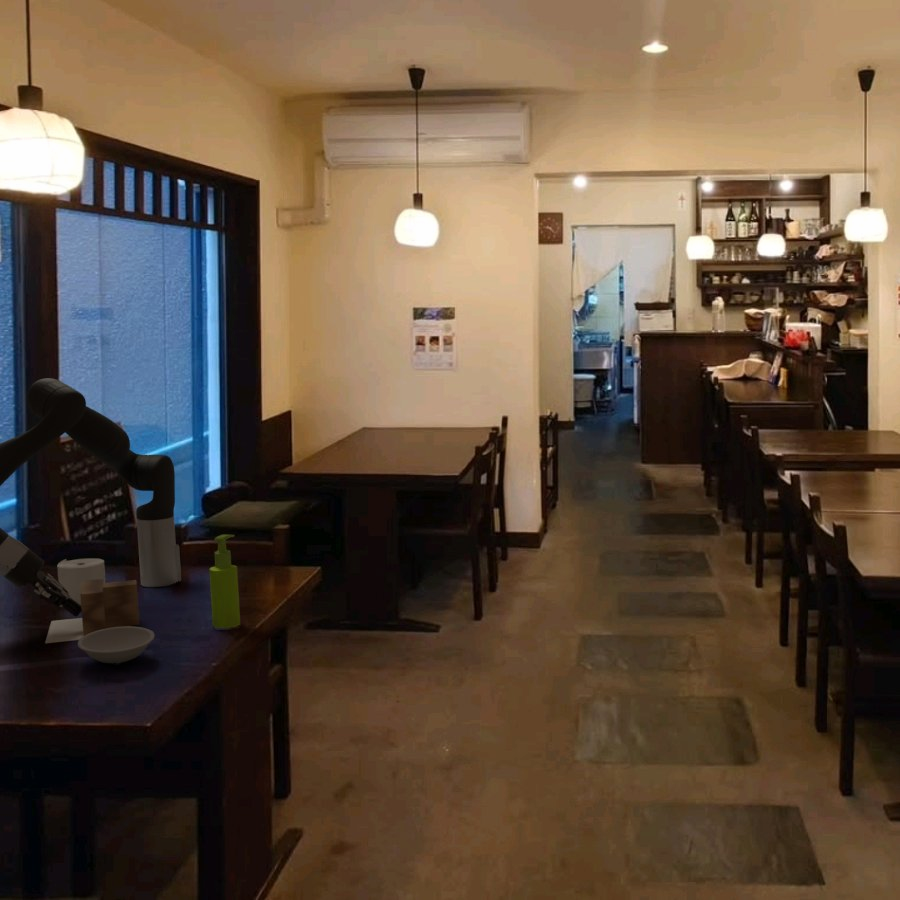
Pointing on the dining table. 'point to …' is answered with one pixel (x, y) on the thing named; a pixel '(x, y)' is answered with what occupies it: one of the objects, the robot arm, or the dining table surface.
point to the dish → (116, 643)
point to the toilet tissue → (79, 574)
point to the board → (65, 630)
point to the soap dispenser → (224, 587)
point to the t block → (108, 604)
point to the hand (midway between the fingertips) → (79, 612)
